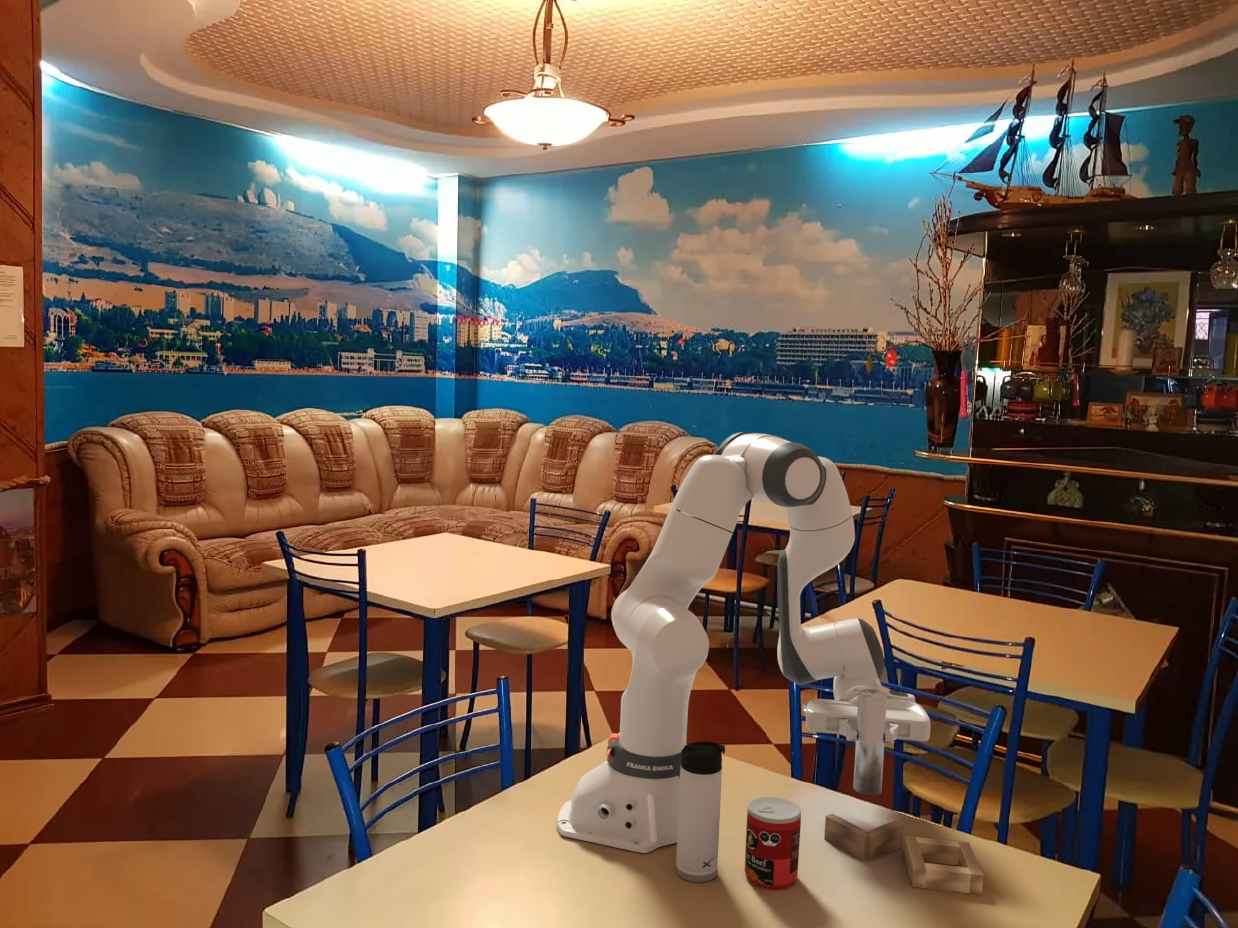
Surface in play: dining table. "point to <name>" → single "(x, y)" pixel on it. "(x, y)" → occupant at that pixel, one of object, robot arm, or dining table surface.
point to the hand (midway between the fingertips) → (871, 737)
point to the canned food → (772, 842)
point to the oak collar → (942, 876)
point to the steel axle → (870, 741)
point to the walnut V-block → (864, 837)
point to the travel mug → (699, 811)
